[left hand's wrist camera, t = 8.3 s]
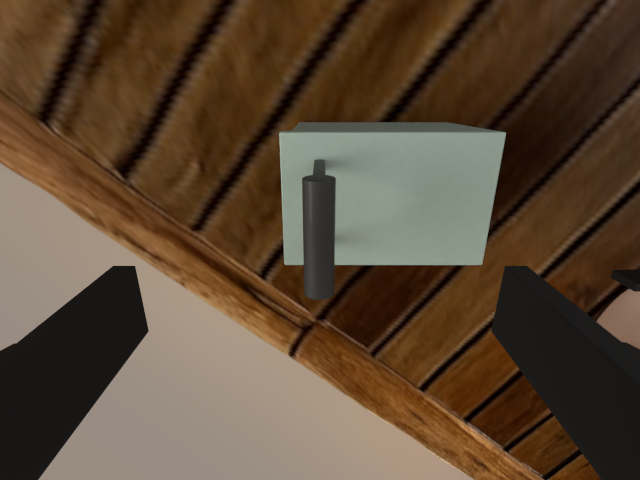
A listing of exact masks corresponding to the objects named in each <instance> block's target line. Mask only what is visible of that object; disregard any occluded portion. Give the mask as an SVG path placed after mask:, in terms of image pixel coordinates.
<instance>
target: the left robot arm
mask: <svg viewBox="0 0 640 480" xmlns="http://www.w3.org/2000/svg"><path fill="white" fill-rule="evenodd" d="M147 333H148V326H147V322H146V317H145V312H144V307H143V302H142V298H141V293H140V288H139V283H138V278H137V274H136V269H135V266H113V267H112V268H110V269H109V270H108V271H106V272H105V273H104V274H103V275H101V276H100V277H99V278H98V279H97V280H95V281H94V282H93V283H92V284H90V285H89V286H88V287H86V288H85V289H84V290H83V291H82V292H80V293H79V294H78V295H77V296H75V297H74V298H73V299H71V300H70V301H69V302H68V303H66V304H65V305H64V306H63V307H62V308H60V309H59V310H58V311H57V312H55V313H54V314H53V315H51V316H50V317H49V318H48V319H47V320H45V321H44V322H43V323H41V324H40V325H39V326H38V327H36V328H35V329H34V330H33V331H32V332H30V333H29V334H28V335H27V336H25V337H24V338H23V339H22V340H20V341H19V342H18V343H17V344H13V345H11V346H9V347H7V348H5V349H3V350H1V351H0V480H38V479H39V478H40V476H41V475H42V474H43V472H44V471H45V470H46V468H47V467H48V466H49V464H50V463H51V462H52V460H53V459H54V458H55V456H56V455H57V453H58V452H59V451H60V450H61V448H62V447H63V446H64V444H65V443H66V441H67V440H68V439H69V437H70V436H71V435H72V433H73V432H74V431H75V429H76V428H77V427H78V425H79V424H80V423H81V421H82V420H83V419H84V417H85V416H86V415H87V413H88V412H89V411H90V409H91V408H92V407H93V405H94V404H95V403H96V401H97V400H98V398H99V397H100V396H101V394H102V393H103V392H104V390H105V389H106V388H107V386H108V385H109V384H110V382H111V381H112V380H113V378H114V377H115V376H116V374H117V373H118V372H119V370H120V369H121V367H122V366H123V365H124V364H125V362H126V361H127V359H128V358H129V357H130V355H131V354H132V353H133V351H134V350H135V349H136V347H137V346H138V345H139V343H140V342H141V341H142V339H143V338H144V337H145V335H146V334H147ZM492 333H493V334H494V335H495V337H496V338H497V339H498V341H499V342H500V343H501V345H502V346H503V347H504V349H505V350H506V351H507V353H508V354H509V355H510V357H511V358H512V359H513V361H514V362H515V364H516V365H517V366H518V368H519V369H520V370H521V372H522V373H523V374H524V376H525V377H526V378H527V380H528V381H529V382H530V384H531V385H532V386H533V388H534V389H535V390H536V392H537V393H538V394H539V396H540V397H541V398H542V400H543V401H544V403H545V404H546V405H547V407H548V408H549V409H550V411H551V412H552V413H553V415H554V416H555V417H556V419H557V420H558V421H559V423H560V424H561V425H562V427H563V428H564V429H565V431H566V432H567V433H568V435H569V436H570V437H571V439H572V440H573V442H574V443H575V444H576V446H577V447H578V448H579V450H580V451H581V452H582V454H583V455H584V456H585V458H586V459H587V460H588V462H589V463H590V464H591V466H592V467H593V468H594V470H595V471H596V472H597V474H598V475H599V476H600V478H601V479H602V480H640V349H638V348H636V347H634V346H632V345H630V344H628V343H627V342H621V341H620V340H618V339H617V338H616V337H615V336H613V335H612V334H611V333H610V332H608V331H607V330H606V329H605V328H603V327H602V326H601V325H600V324H599V323H597V322H596V321H595V320H594V319H592V318H591V317H590V316H589V315H587V314H586V313H585V312H584V311H582V310H581V309H580V308H579V307H577V306H576V305H575V304H574V303H572V302H571V301H570V300H569V299H567V298H566V297H565V296H564V295H562V294H561V293H560V292H559V291H557V290H556V289H555V288H554V287H552V286H551V285H550V284H549V283H547V282H546V281H545V280H544V279H542V278H541V277H540V276H539V275H537V274H536V273H535V272H534V271H532V270H531V269H530V268H529V267H527V266H505V269H504V274H503V278H502V283H501V288H500V293H499V297H498V302H497V307H496V312H495V317H494V321H493V326H492Z"/></svg>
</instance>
